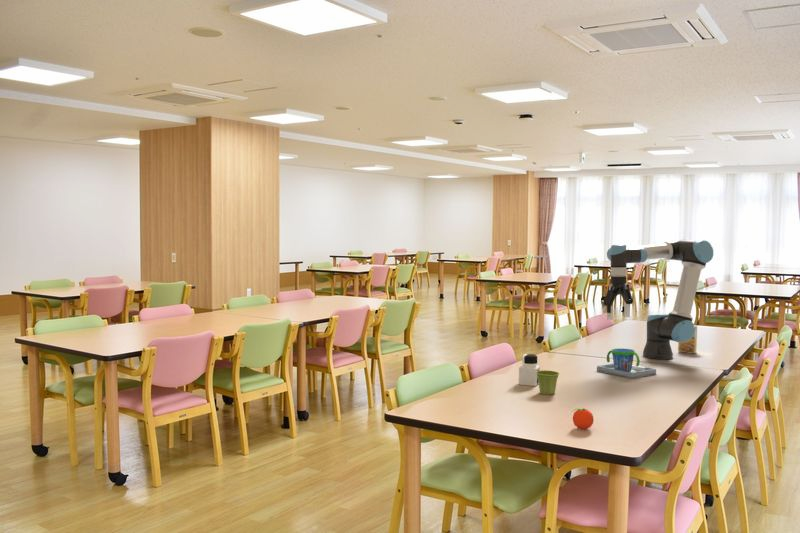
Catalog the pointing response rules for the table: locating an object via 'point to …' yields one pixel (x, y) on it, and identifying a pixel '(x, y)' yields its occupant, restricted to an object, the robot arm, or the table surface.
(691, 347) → the candy box
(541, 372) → the plant pot
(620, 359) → the snack cup
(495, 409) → the table surface
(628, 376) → the meal tray
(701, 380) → the table surface
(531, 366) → the container
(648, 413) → the table surface
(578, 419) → the tomato
